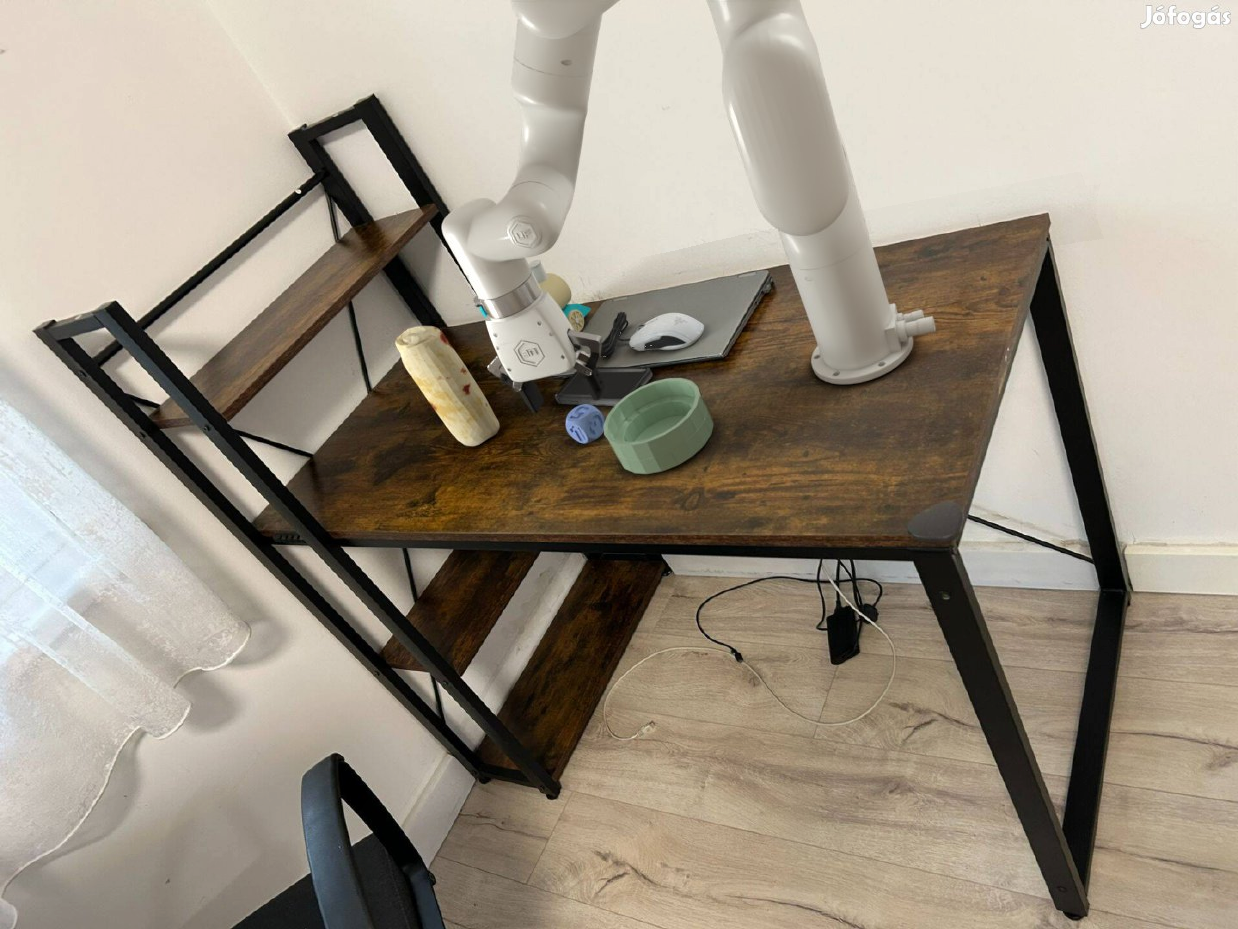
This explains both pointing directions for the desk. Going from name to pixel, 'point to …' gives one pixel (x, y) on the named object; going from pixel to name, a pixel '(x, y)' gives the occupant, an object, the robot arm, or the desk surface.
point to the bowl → (658, 425)
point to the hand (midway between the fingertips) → (568, 400)
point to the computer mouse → (656, 333)
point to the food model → (447, 384)
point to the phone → (615, 386)
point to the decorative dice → (585, 423)
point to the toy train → (557, 295)
